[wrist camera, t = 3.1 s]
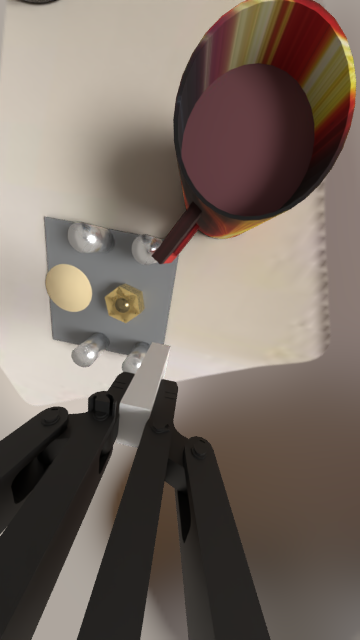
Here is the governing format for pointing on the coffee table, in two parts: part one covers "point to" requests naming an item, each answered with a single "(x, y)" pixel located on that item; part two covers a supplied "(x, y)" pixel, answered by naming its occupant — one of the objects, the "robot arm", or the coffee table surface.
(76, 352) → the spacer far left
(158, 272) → the mat
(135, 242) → the spacer near right
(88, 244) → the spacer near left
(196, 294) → the coffee table surface
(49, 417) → the robot arm
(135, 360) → the spacer far right
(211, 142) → the mug
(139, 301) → the nut
